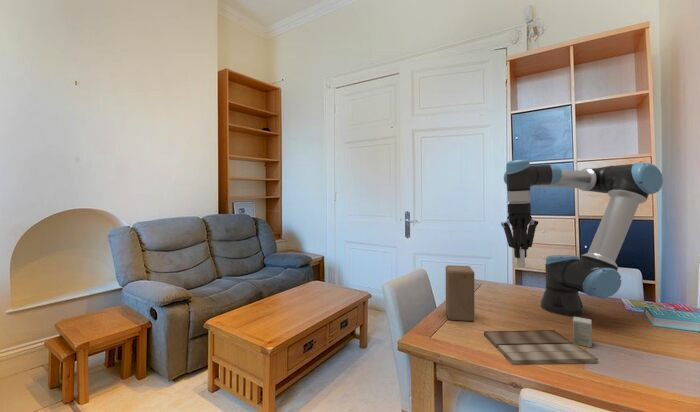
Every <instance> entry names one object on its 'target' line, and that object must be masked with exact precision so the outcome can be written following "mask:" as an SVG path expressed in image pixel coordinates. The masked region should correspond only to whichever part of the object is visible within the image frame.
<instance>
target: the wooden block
mask: <svg viewBox="0 0 700 412" xmlns="http://www.w3.org/2000/svg"><path fill="white" fill-rule="evenodd" d="M445 312H446V316H447V319H448V320H449V321H451V320H452V321H465V322H474V321H475V271H474V270H473V269H472V267H470V266H469V265H450V264H449V265H448V264H447V265H446V266H445Z"/></svg>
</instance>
